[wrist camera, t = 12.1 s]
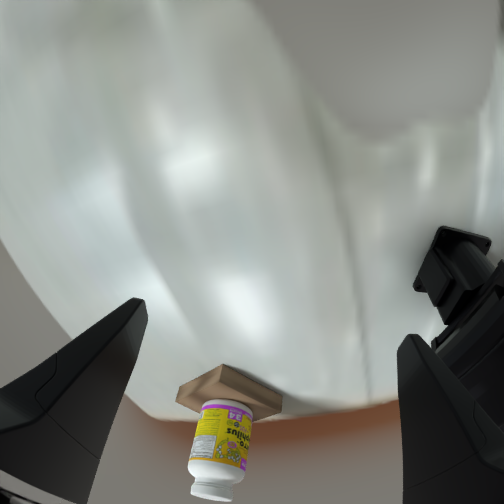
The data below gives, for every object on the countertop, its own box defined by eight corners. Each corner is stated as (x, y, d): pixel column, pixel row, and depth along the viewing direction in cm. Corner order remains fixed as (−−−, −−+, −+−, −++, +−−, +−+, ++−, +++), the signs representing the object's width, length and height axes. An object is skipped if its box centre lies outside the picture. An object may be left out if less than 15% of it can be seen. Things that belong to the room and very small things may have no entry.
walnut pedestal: (222, 364, 32) (218, 381, 30) (282, 396, 35) (281, 412, 33) (179, 386, 37) (175, 401, 35) (234, 413, 40) (232, 427, 38)
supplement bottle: (262, 416, 34) (251, 504, 24) (220, 420, 37) (204, 500, 26) (237, 394, 31) (219, 495, 21) (192, 398, 34) (169, 488, 23)
